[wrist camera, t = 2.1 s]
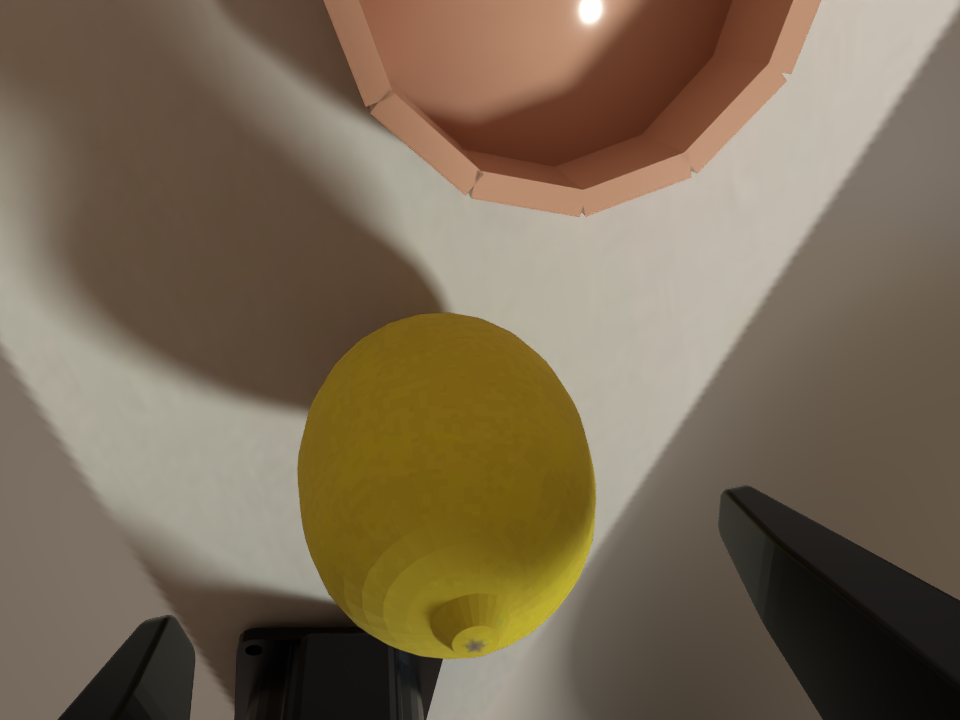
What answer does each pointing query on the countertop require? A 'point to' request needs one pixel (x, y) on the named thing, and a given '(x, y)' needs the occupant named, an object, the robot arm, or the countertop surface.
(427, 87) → the dish
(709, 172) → the countertop surface
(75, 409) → the countertop surface
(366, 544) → the lemon
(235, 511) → the countertop surface
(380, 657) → the robot arm
